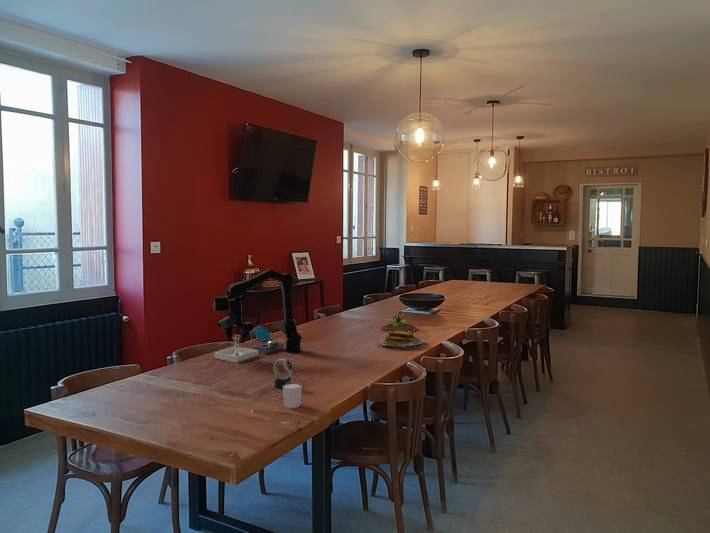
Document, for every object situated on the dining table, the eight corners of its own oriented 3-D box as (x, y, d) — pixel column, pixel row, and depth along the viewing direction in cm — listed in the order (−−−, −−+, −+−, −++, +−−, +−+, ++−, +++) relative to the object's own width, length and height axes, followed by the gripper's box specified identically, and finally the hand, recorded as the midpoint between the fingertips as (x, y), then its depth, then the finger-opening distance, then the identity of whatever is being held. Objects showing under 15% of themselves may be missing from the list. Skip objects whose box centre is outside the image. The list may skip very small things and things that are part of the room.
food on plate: (383, 352, 273) (383, 339, 273) (372, 341, 298) (372, 329, 297) (431, 349, 278) (431, 337, 278) (417, 339, 303) (417, 327, 302)
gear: (257, 340, 292) (252, 325, 297) (253, 346, 295) (247, 331, 300) (275, 340, 299) (269, 325, 304) (270, 346, 302) (265, 331, 307)
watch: (289, 389, 211) (289, 361, 210) (271, 387, 214) (270, 360, 213) (295, 385, 216) (295, 358, 216) (277, 383, 219) (277, 356, 218)
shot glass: (283, 402, 196) (283, 383, 195) (302, 401, 196) (302, 383, 196) (282, 408, 189) (282, 389, 188) (302, 408, 190) (301, 388, 189)
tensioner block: (283, 348, 278) (283, 340, 278) (265, 354, 266) (265, 346, 266) (271, 347, 282) (271, 339, 282) (253, 352, 271) (253, 344, 270)
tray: (258, 356, 263) (258, 350, 263) (237, 363, 250) (237, 356, 250) (236, 352, 270) (235, 346, 270) (214, 358, 258) (214, 352, 258)
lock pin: (241, 355, 261) (241, 335, 260) (236, 357, 258) (236, 336, 257) (236, 354, 263) (236, 334, 262) (231, 356, 260) (231, 335, 259)
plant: (420, 329, 332) (420, 311, 331) (407, 335, 315) (407, 316, 314) (391, 326, 342) (391, 308, 341) (376, 331, 325) (376, 313, 324)
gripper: (209, 310, 256) (209, 343, 258) (238, 314, 247) (239, 348, 248) (226, 307, 266) (226, 338, 267) (254, 310, 256) (255, 343, 258)
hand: (236, 342), depth 260 cm, fingers open, 8 cm apart
